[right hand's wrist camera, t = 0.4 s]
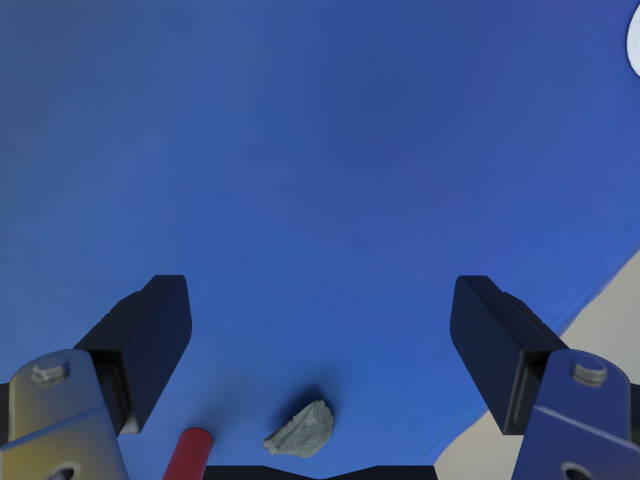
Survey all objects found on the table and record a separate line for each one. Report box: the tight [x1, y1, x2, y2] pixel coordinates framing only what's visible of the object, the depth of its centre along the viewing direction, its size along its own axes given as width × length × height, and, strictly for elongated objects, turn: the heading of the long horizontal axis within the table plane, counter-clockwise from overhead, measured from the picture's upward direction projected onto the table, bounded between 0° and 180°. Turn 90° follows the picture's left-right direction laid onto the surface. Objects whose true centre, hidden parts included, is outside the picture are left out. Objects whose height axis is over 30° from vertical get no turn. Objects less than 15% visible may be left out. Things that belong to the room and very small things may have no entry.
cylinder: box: [162, 428, 213, 480], centre depth 48 cm, size 5×5×10 cm
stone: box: [263, 399, 334, 458], centre depth 49 cm, size 11×4×10 cm
